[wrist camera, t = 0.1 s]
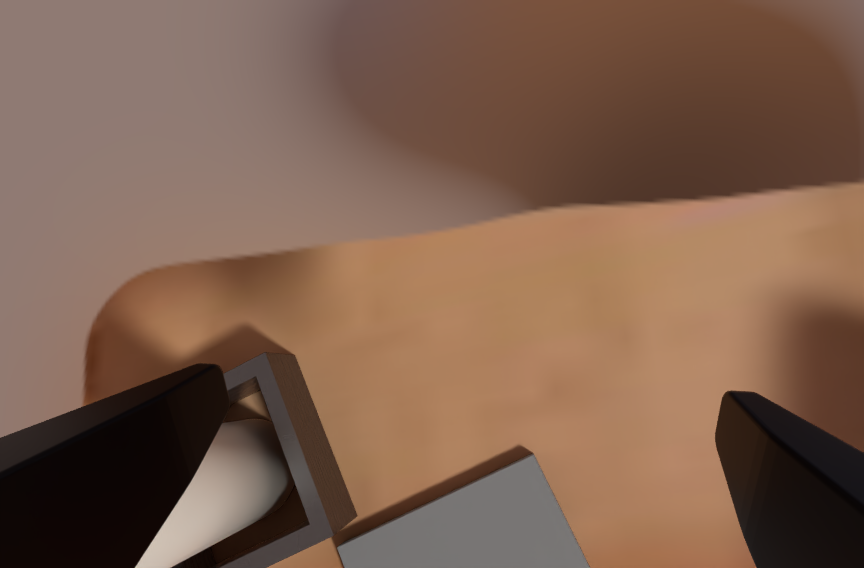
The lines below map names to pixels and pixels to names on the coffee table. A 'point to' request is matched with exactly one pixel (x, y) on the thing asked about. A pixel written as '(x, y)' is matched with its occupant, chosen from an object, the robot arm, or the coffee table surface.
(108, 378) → the coffee table surface
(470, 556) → the slate mat
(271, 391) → the grey square tray
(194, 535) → the white plug
